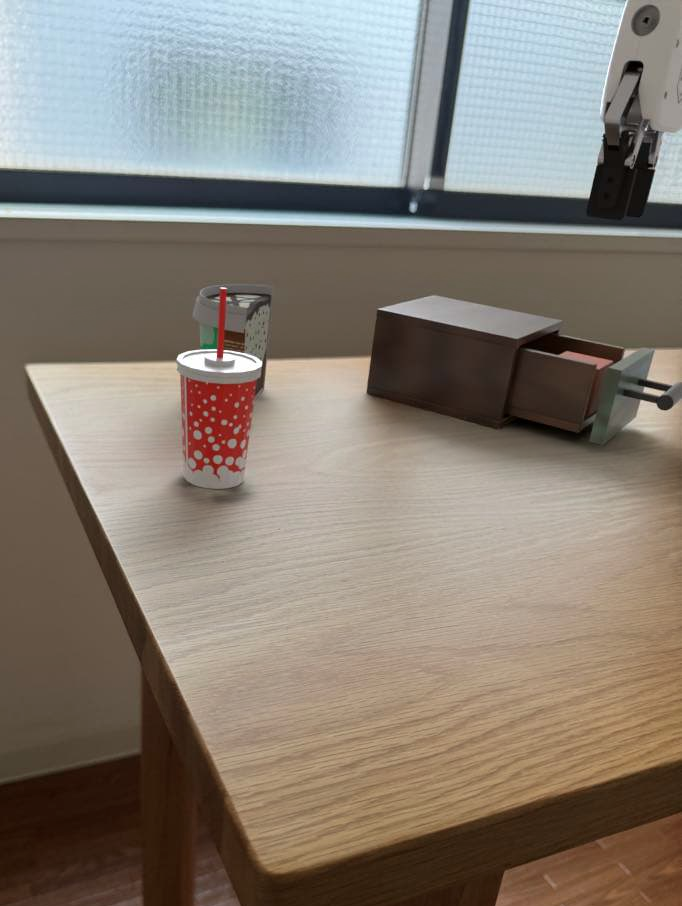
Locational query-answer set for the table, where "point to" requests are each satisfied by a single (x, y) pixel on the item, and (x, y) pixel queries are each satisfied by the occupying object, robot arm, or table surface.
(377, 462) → the table surface
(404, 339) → the cabinet
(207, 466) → the beverage cup
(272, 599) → the table surface
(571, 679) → the table surface
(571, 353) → the block
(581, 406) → the drawer
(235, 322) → the food container
